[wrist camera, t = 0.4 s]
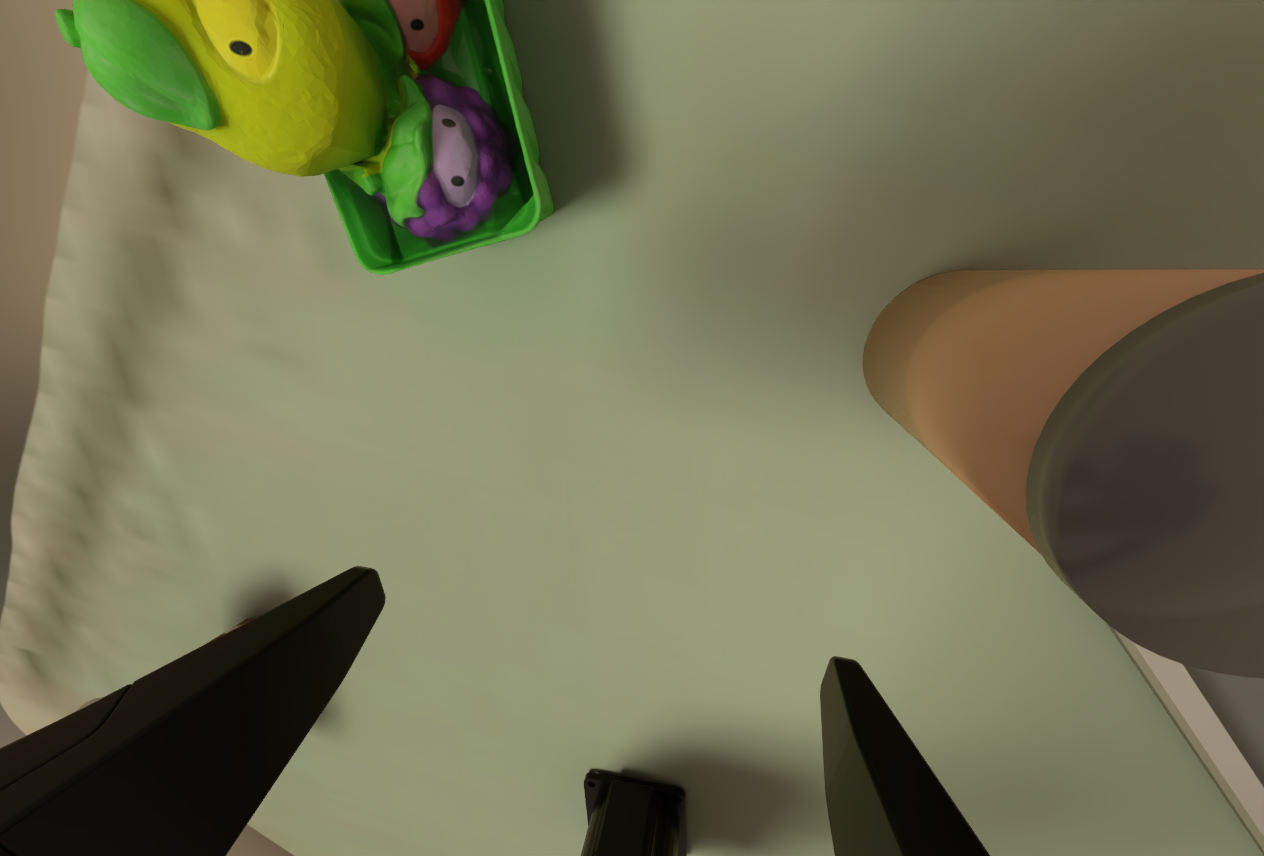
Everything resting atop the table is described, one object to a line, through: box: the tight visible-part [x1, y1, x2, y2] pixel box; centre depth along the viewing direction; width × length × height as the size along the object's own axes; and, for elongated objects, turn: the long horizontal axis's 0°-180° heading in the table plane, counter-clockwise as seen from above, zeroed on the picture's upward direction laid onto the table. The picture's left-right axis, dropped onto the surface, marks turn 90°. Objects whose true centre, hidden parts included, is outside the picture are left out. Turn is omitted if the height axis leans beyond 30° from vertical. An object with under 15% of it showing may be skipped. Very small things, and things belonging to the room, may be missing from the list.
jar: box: [863, 269, 1264, 678], centre depth 13 cm, size 7×7×13 cm
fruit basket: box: [55, 0, 554, 275], centre depth 15 cm, size 11×9×11 cm
